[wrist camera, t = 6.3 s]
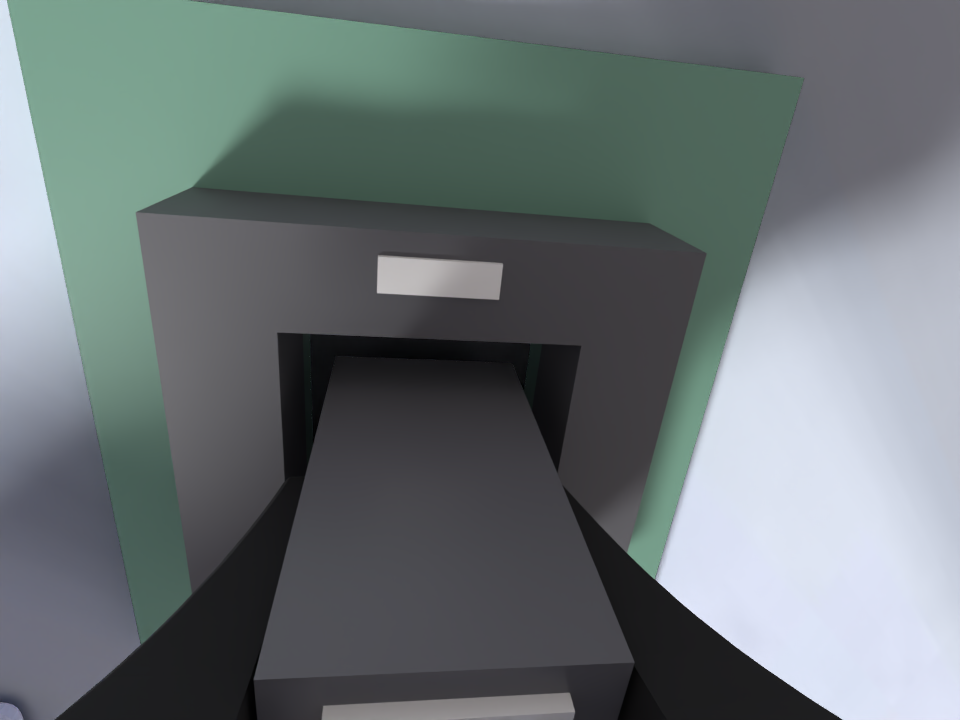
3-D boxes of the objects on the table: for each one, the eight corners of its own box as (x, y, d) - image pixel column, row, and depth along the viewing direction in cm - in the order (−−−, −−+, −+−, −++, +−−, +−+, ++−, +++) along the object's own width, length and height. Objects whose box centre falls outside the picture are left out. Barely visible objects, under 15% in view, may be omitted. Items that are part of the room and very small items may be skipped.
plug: (337, 542, 13) (275, 964, 7) (335, 355, 11) (247, 702, 5) (488, 540, 14) (563, 929, 7) (511, 362, 12) (642, 680, 5)
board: (160, 640, 16) (101, 774, 13) (37, -13, 10) (-139, -66, 7) (621, 624, 19) (668, 736, 15) (774, 79, 12) (911, 73, 9)
